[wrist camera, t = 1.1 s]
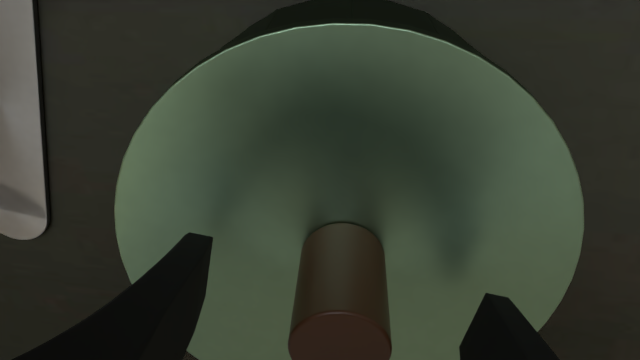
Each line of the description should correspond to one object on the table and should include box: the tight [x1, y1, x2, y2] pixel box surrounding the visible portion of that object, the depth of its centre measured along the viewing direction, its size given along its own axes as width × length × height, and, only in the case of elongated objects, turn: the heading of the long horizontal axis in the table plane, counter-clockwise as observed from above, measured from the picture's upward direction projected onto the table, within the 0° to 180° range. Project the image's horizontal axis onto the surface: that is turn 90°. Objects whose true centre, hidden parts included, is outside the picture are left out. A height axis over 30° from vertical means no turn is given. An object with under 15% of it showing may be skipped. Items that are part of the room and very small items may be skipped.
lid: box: [114, 18, 584, 360], centre depth 14 cm, size 13×13×5 cm
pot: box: [221, 0, 482, 55], centre depth 18 cm, size 12×12×5 cm
